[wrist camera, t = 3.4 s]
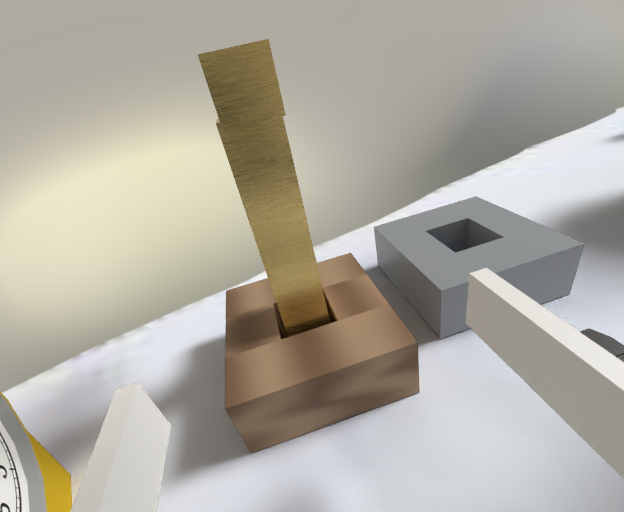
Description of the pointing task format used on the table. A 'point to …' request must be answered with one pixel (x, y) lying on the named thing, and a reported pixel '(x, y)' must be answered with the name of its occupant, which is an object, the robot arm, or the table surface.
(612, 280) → the table surface
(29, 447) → the alarm clock
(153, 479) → the robot arm
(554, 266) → the block
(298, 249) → the t key
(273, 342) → the block
